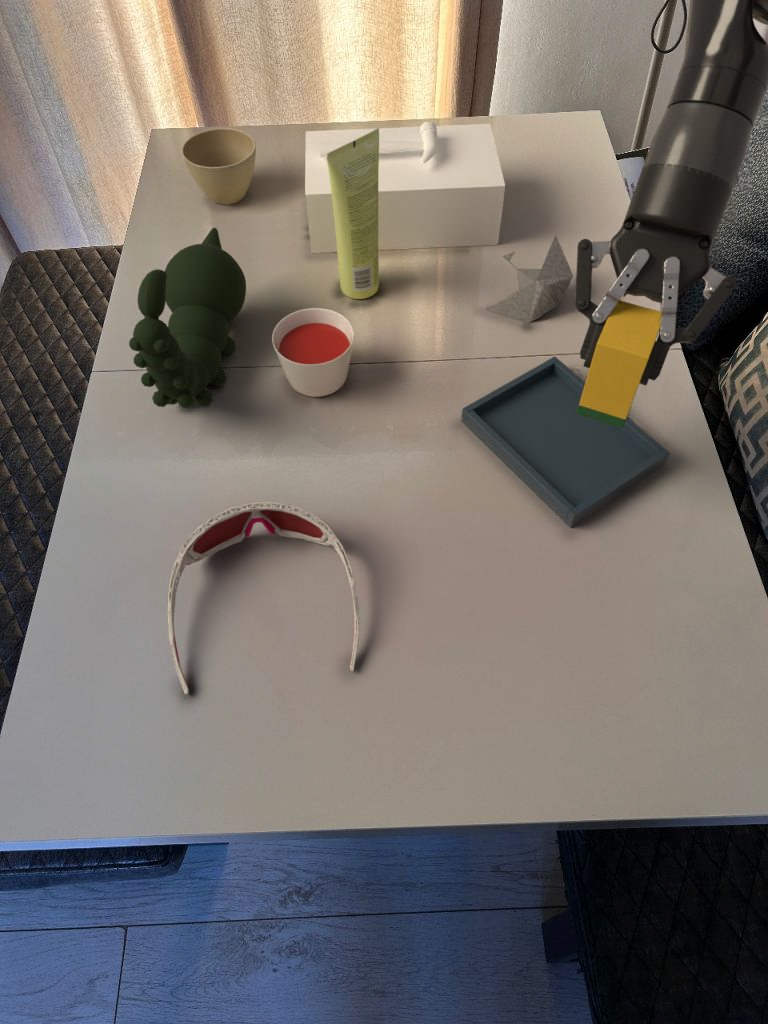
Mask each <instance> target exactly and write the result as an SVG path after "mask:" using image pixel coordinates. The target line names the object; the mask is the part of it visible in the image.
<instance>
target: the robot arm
mask: <svg viewBox="0 0 768 1024" xmlns="http://www.w3.org/2000/svg"><path fill="white" fill-rule="evenodd" d="M754 20H755V21H756V22H758V23H760V24H762V25H765V26H768V0H689V11H688V20H687V26H686V27H687V28H686V37H685V47H684V56H683V60H682V64H681V67H680V69H679V72H678V75H677V79H676V82H675V85H674V87H673V90H672V92H671V96H670V99H669V101H668V104H667V107H666V109H665V112H664V114H663V116H662V119H661V121H660V123H659V124H658V126H657V129H656V131H655V133H654V135H653V138H652V141H651V142H650V145H649V148H648V151H647V153H646V157H645V159H644V162H643V166H642V167H641V171H640V174H639V177H638V180H637V182H636V186H635V188H634V191H633V194H632V197H631V200H630V203H629V205H628V208H627V211H626V213H625V218H624V219H623V222H622V225H621V227H620V228H619V230H618V232H617V233H616V234H615V235H613V236H612V238H611V239H610V240H606V241H605V240H603V241H591V240H590V239H588V238H583V239H580V240H579V242H578V243H577V252H576V254H577V255H576V273H575V275H576V277H575V292H574V293H575V296H574V299H575V300H574V306H575V308H576V310H577V311H578V312H579V313H581V314H582V315H583V316H585V317H586V318H587V319H588V320H589V325H588V328H587V331H586V333H585V336H584V340H583V342H582V346H581V349H580V350H579V351H580V352H579V358H580V359H582V360H584V362H583V367H584V368H587V369H590V366H591V362H592V359H593V356H594V352H595V349H596V345H597V342H598V340H599V338H600V335H601V333H602V331H603V328H604V326H605V324H606V321H607V319H608V316H609V315H610V313H611V312H612V311H613V309H614V308H615V307H616V305H617V304H619V303H620V302H621V301H624V299H625V298H626V297H627V295H630V296H633V297H645V298H647V299H648V300H650V301H651V302H656V303H659V304H660V308H659V311H660V312H661V323H660V330H659V332H658V335H657V338H656V340H655V343H654V346H653V349H652V351H651V354H650V357H649V359H648V362H647V365H646V367H645V370H644V373H643V375H642V378H641V381H640V383H639V385H642V386H648V382H649V380H651V381H656V380H657V379H658V377H660V374H661V372H662V369H663V366H664V364H665V361H666V360H667V359H666V358H667V355H668V353H669V351H670V348H671V347H672V346H673V345H675V344H685V343H686V344H691V343H694V342H696V340H697V339H698V338H699V336H701V334H702V333H703V332H704V331H705V329H706V327H707V326H708V325H709V323H710V322H711V321H712V319H714V317H715V316H716V315H717V313H718V311H719V310H720V309H721V308H722V306H723V305H724V304H725V302H726V301H727V300H728V298H729V297H730V296H731V295H732V294H733V292H734V291H735V289H736V288H737V286H738V282H737V279H736V278H735V277H734V276H726V275H724V274H723V273H721V272H720V271H718V270H716V269H714V268H713V267H711V266H712V265H711V263H712V262H711V248H712V245H713V244H714V240H715V238H716V235H717V233H718V230H719V227H720V225H721V221H722V219H723V216H724V214H725V212H726V209H727V206H728V204H729V201H730V199H731V195H732V192H733V190H734V188H735V187H736V184H737V183H738V180H739V175H740V172H741V170H742V166H743V164H744V162H745V161H744V160H745V158H746V154H747V150H748V146H749V142H750V137H751V135H752V132H753V128H754V126H755V123H756V120H757V118H758V115H759V113H760V110H761V108H762V104H763V102H764V99H765V97H766V94H767V91H768V42H767V41H766V39H764V37H763V36H762V35H761V34H760V32H759V31H758V29H757V27H756V25H755V22H754ZM607 255H609V256H610V259H611V262H612V266H613V269H614V272H615V276H616V279H615V281H614V282H613V284H612V285H611V287H610V288H609V289H608V291H607V293H606V294H605V296H604V297H603V298H602V300H601V301H600V303H599V305H597V304H596V303H594V302H593V301H592V287H593V285H592V282H593V269H597V268H599V267H600V266H601V264H602V262H603V258H605V256H607ZM702 279H703V280H704V282H705V287H704V288H703V290H702V295H703V297H704V298H705V299H707V300H706V302H705V303H704V304H703V305H702V307H701V308H700V310H698V312H697V313H696V315H695V316H694V317H693V319H692V320H691V321H690V322H689V324H688V325H687V326H683V327H676V325H677V324H676V323H677V313H678V299H679V296H680V295H681V294H682V293H684V292H685V291H687V290H688V289H689V288H691V287H693V286H694V285H695V284H697V283H698V282H699V281H700V280H702Z"/></svg>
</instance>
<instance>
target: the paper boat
mask: <svg viewBox="0 0 768 1024" xmlns="http://www.w3.org/2000/svg"><path fill="white" fill-rule="evenodd" d="M515 253H516V252H515V251H513V252H510V253H507V254H504V255H502V258H503V259H505V261H506V262H507V263H509V265H510V264H511V266H512V267H513V268H514V269H515V270H516V275H517V286H518V287H517V288H518V290H517V291H515V292H513V293H511V294H510V295H508V296H506V297H505V298H502V299H501V300H499V301H498V302H496V303H494V304H492V305H491V306H489V307H487V308H486V310H487V311H492V312H494V313H497V314H500V315H503V316H507V317H510V318H512V319H516V320H519V321H522V322H525V323H528V324H529V323H532V322H533V321H536V320H537V319H539V318H540V317H542V316H544V315H545V314H547V313H548V312H549V311H551V310H552V309H554V308H555V307H557V306H558V305H559V303H560V301H561V300H562V298H563V296H564V295H565V294H566V292H567V290H568V288H569V287H570V285H571V283H572V280H573V278H574V273H573V271H572V269H571V267H570V265H569V262H568V260H567V258H566V255H565V253H564V251H563V247H562V246H561V244H560V242H559V238H558V237H557V235H556V234H554V236H553V239H552V242H551V244H550V246H549V248H548V251H547V254H546V256H545V259H544V261H543V264H542V266H541V268H517V267H516V266H515V265H514V264H513V263H512V262H511V259H512V258H513V256H514V254H515Z"/></svg>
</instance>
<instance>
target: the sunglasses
mask: <svg viewBox="0 0 768 1024" xmlns="http://www.w3.org/2000/svg"><path fill="white" fill-rule="evenodd" d="M256 523H261V524H262V525H263V526H264V528H265V529H266V530H267V531H268V532H269V534H270V535H274V534H276V533H277V534H278V535H279V536H281V537H284V538H285V537H287V538H292V539H301V540H305V541H309V542H312V543H315V544H319V545H324V546H329V547H333V549H334V550H335V551H336V552H337V554H338V556H339V557H340V559H341V561H342V563H343V565H344V568H345V571H346V574H347V578H348V581H349V585H350V590H351V595H352V596H351V597H352V604H353V643H352V644H353V645H352V651H351V657H350V666H349V669H350V671H351V672H355V666H356V660H357V655H358V646H359V640H360V639H359V638H360V610H359V601H358V594H357V589H356V581H355V578H354V573H353V570H352V567H351V563H350V560H349V557H348V555H347V553H346V550H345V548H344V546H343V544H342V543H341V542H340V540H339V538H338V536H337V534H336V533H335V532H334V531H333V529H332V528H331V527H330V526H329V524H327V522H324V520H322V519H321V518H320V517H318V516H317V515H315V514H313V513H311V512H309V511H306V510H305V509H302V508H300V507H298V506H294V505H291V504H286V503H282V502H275V501H261V502H250V503H246V504H241V505H236V506H233V507H229V508H228V509H226V510H224V511H221V512H220V513H218V514H216V515H213V516H212V517H211V518H209V519H208V520H206V521H205V522H204V523H202V524H201V525H199V526H198V527H197V528H196V529H195V530H194V531H193V532H192V533H191V534H190V535H189V536H188V538H187V539H186V540H185V541H184V544H182V546H181V548H180V550H179V552H178V555H177V558H176V560H175V561H174V564H173V567H172V571H171V575H170V580H169V585H168V589H167V590H168V594H167V623H168V639H169V644H170V648H171V654H172V659H173V665H174V667H175V670H176V673H177V677H178V680H179V682H180V684H181V687H182V690H183V693H184V695H189V692H190V691H189V686H188V685H189V684H188V682H187V680H186V677H185V675H184V672H183V670H182V665H181V662H180V656H179V652H178V647H177V641H176V632H175V609H176V608H175V607H176V597H177V590H178V586H179V583H180V579H181V576H182V575H183V572H184V570H185V568H186V566H190V565H192V564H195V563H198V562H200V561H202V560H204V559H206V558H208V557H209V556H212V555H213V554H215V553H217V552H219V551H221V550H224V549H227V548H228V547H230V546H233V545H235V544H238V543H240V542H242V541H244V539H245V538H249V537H250V536H251V533H252V530H253V527H254V524H256Z"/></svg>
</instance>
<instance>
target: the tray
mask: <svg viewBox="0 0 768 1024" xmlns="http://www.w3.org/2000/svg"><path fill="white" fill-rule="evenodd" d="M585 383H586V380H584V379H583V378H581V377H580V375H578V374H576V373H575V372H574V371H573V370H572V369H570V368H569V367H568V366H567V365H566V364H564V362H562V361H561V360H560V359H558V358H557V357H556V356H553V357H551V358H549V359H547V360H546V361H544V362H542V363H540V364H539V365H537V366H535V367H533V368H531V369H530V370H528V371H526V372H524V373H523V374H521V375H519V376H517V377H515V378H514V379H512V380H511V381H509V382H506V383H505V384H504V385H502V386H500V387H498V388H497V389H494V390H493V391H491V392H489V393H487V394H486V395H483V396H482V397H480V398H479V399H476V400H475V401H473V402H472V403H470V404H468V405H466V406H465V407H462V410H461V418H460V419H461V420H460V421H461V423H463V424H464V426H466V427H467V428H468V429H469V430H470V431H471V432H472V433H473V434H474V435H475V436H476V437H477V438H478V439H479V440H480V441H481V442H482V443H483V444H484V446H486V447H487V448H488V449H489V450H490V451H491V452H492V453H493V454H494V455H495V456H496V457H497V458H498V459H499V460H500V461H501V462H502V463H503V464H505V466H506V467H507V468H508V469H509V470H511V471H512V473H514V474H515V476H516V477H517V478H519V479H520V480H521V481H522V482H523V483H524V484H525V485H526V486H527V487H528V488H529V489H530V490H531V491H532V492H533V493H534V494H535V495H536V497H538V499H540V500H541V501H542V502H543V503H544V504H545V505H546V506H547V507H548V508H549V509H551V511H552V512H554V514H555V515H556V516H558V517H559V519H560V520H562V521H563V523H565V524H566V525H567V526H568V527H569V528H570V529H571V528H573V527H574V526H576V525H577V524H579V523H580V522H582V521H583V520H585V519H586V518H588V517H589V516H591V515H592V514H593V513H595V512H597V511H598V510H599V509H601V508H603V507H604V506H606V505H607V504H609V503H610V502H612V501H613V500H615V499H616V498H618V497H620V495H622V494H623V493H625V492H626V491H628V490H630V489H631V488H632V487H634V486H636V485H637V484H639V483H640V482H642V481H643V480H645V479H646V478H647V477H649V476H650V475H652V474H653V473H655V472H656V471H658V470H660V469H662V468H663V467H664V466H665V465H666V464H667V463H666V462H667V461H668V459H669V457H670V454H671V453H670V452H669V451H668V450H667V449H666V448H665V447H663V446H662V445H661V444H660V443H659V442H657V441H656V440H655V439H654V438H652V436H651V435H649V434H648V433H647V432H645V430H643V429H642V428H641V427H640V426H638V424H636V423H635V422H634V421H633V420H632V419H630V418H629V417H628V416H627V418H626V420H625V423H624V425H623V428H620V427H617V426H614V425H610V424H607V423H604V422H601V421H598V420H595V419H592V418H588V417H585V416H582V415H579V414H577V410H578V406H579V403H580V400H581V396H582V393H583V390H584V386H585Z"/></svg>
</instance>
